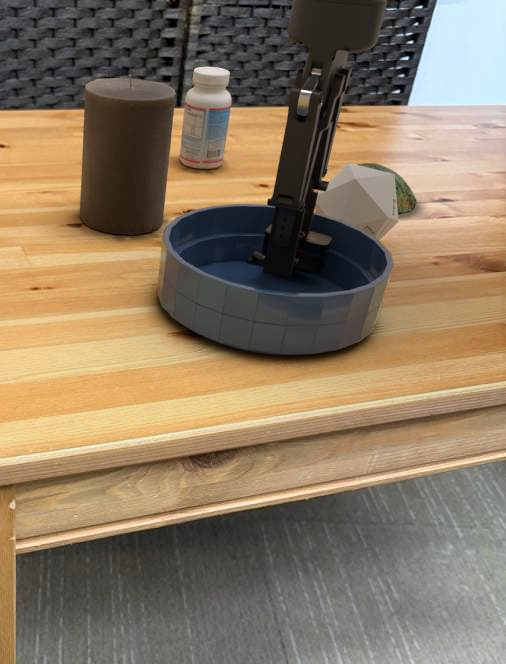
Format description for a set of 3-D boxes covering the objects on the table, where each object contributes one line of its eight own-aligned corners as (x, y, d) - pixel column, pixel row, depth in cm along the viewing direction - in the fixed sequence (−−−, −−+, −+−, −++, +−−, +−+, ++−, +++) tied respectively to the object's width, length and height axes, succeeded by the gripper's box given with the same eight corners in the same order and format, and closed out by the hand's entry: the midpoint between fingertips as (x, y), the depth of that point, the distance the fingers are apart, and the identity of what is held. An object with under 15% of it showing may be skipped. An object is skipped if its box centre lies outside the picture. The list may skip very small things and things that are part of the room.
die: (333, 271, 88) (412, 201, 83) (284, 208, 89) (359, 135, 84) (353, 274, 95) (427, 210, 90) (308, 216, 97) (378, 149, 91)
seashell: (391, 183, 96) (327, 159, 102) (380, 218, 99) (318, 193, 105) (440, 177, 101) (377, 154, 107) (428, 211, 104) (367, 187, 110)
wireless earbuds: (258, 251, 85) (264, 220, 82) (325, 267, 83) (333, 236, 80) (244, 268, 81) (250, 236, 79) (314, 285, 79) (322, 253, 77)
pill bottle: (220, 157, 114) (233, 66, 106) (224, 171, 109) (238, 78, 102) (177, 154, 114) (187, 63, 106) (179, 168, 109) (189, 74, 102)
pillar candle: (131, 243, 89) (143, 91, 79) (62, 219, 93) (65, 72, 83) (179, 219, 95) (196, 76, 85) (112, 198, 99) (121, 58, 89)
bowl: (391, 289, 84) (409, 231, 80) (350, 383, 69) (369, 318, 65) (198, 245, 90) (206, 189, 86) (122, 323, 75) (127, 260, 71)
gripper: (321, -29, 74) (271, 228, 89) (268, -5, 61) (221, 288, 77) (405, -19, 71) (338, 243, 87) (368, 9, 59) (298, 307, 75)
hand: (283, 264), depth 82 cm, fingers closed on wireless earbuds, 4 cm apart
